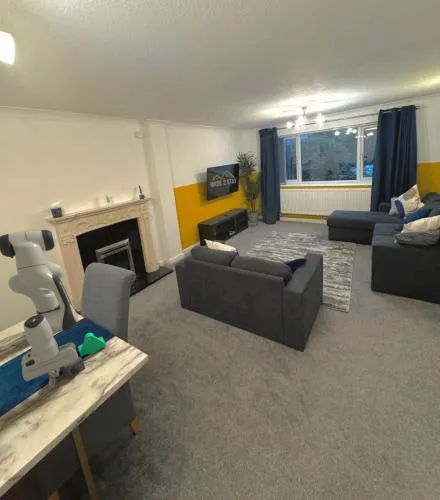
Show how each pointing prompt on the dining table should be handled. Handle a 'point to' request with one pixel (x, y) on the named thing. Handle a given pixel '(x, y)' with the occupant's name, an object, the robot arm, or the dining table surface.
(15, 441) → the dining table surface
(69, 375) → the camera housing
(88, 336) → the camera mount
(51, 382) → the side door
